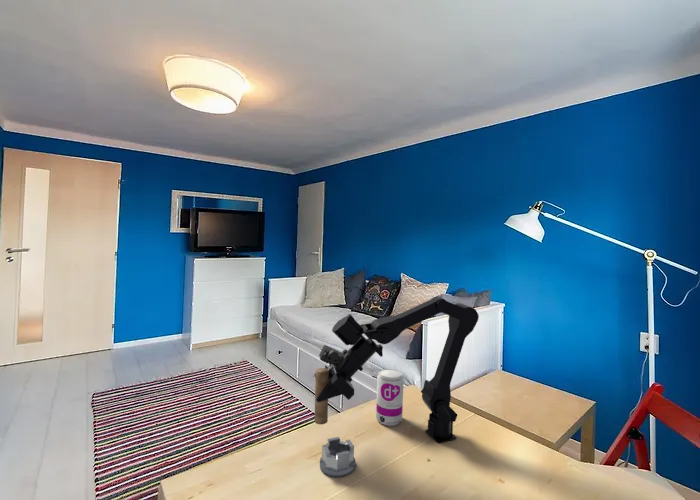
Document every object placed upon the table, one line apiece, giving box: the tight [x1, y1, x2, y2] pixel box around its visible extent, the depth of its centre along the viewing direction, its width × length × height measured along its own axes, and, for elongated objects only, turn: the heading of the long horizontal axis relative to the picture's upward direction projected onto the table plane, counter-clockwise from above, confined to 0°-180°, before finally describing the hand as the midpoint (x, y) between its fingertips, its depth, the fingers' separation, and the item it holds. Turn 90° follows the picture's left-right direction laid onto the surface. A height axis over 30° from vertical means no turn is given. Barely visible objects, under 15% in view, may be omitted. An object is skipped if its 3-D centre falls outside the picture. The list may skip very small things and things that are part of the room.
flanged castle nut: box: [319, 436, 356, 479], centre depth 87 cm, size 9×9×5 cm
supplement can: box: [375, 368, 404, 427], centre depth 110 cm, size 8×8×15 cm
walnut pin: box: [313, 367, 329, 425], centre depth 95 cm, size 4×4×14 cm
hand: (316, 397), depth 95 cm, fingers closed on walnut pin, 4 cm apart
